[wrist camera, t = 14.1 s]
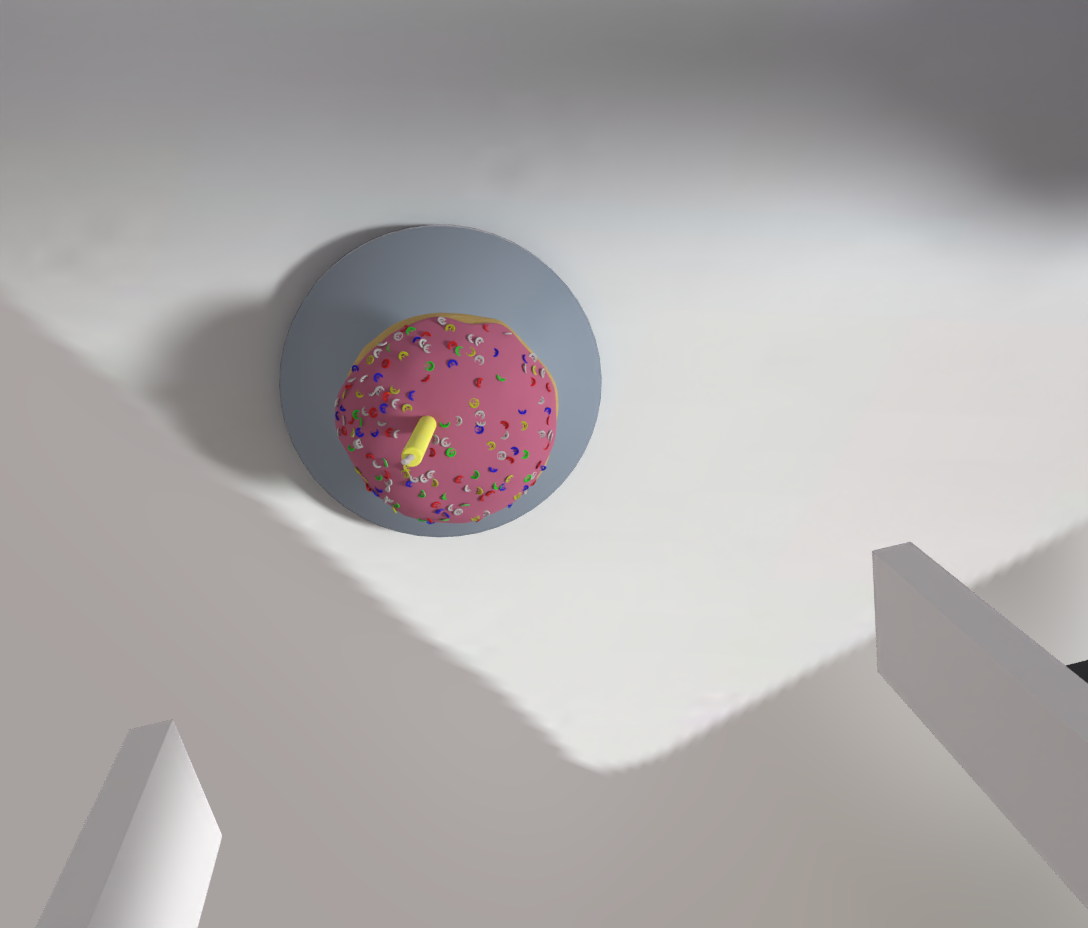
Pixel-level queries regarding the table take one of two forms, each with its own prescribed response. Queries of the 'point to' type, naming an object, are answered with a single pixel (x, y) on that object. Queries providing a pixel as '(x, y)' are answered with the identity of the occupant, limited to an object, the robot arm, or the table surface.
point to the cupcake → (448, 417)
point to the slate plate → (422, 288)
